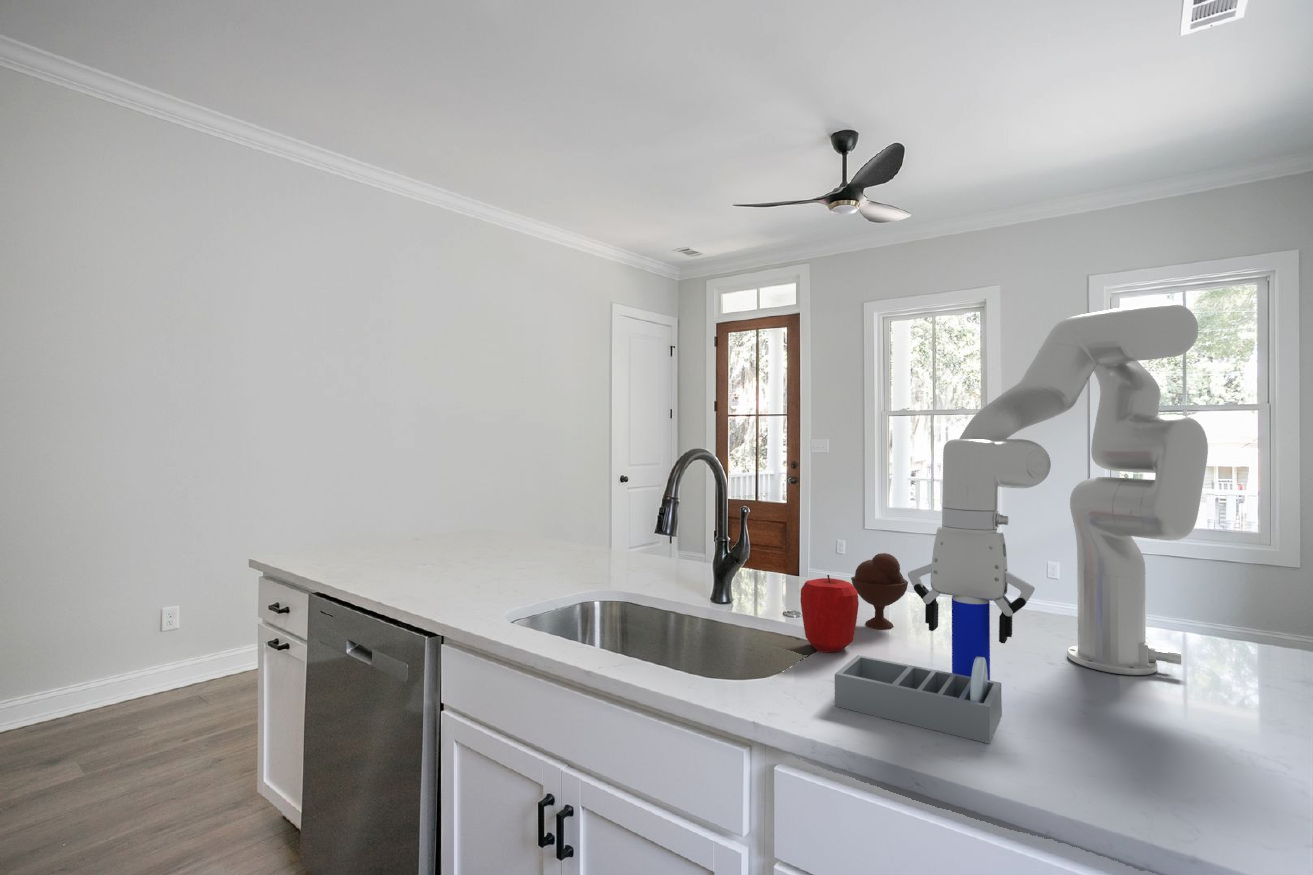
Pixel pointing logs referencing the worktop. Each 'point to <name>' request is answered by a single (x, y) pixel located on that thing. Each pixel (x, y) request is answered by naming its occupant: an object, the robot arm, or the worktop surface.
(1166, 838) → the worktop surface
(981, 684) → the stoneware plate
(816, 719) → the worktop surface
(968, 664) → the beverage can
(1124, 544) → the robot arm
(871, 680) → the dish rack
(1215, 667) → the worktop surface
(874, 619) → the ice cream bowl
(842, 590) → the apple
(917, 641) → the worktop surface
